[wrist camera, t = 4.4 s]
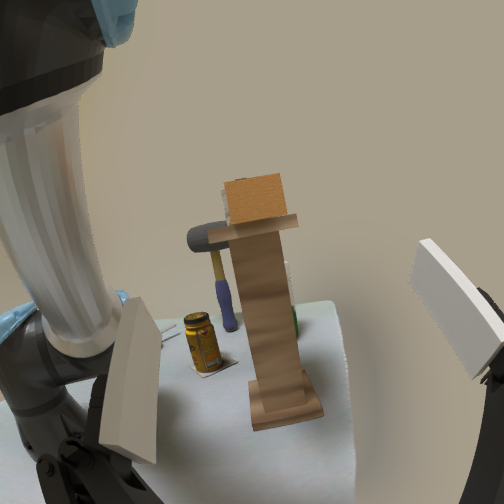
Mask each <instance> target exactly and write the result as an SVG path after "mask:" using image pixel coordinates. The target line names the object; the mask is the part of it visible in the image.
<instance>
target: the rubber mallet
mask: <svg viewBox="0 0 504 504" xmlns="http://www.w3.org/2000/svg"><path fill="white" fill-rule="evenodd" d="M226 226H227V221H219V222H213V223H207V224H204V225H200V226H197V227H194V228H191V229H190V230H189V231H188V234H187V243H188V246H189V248H190V249H191V250H192V251H193V252H195V253H196V252H210V253H211V258H212V263H213V268H214V273H215V278H216V282H215V283H216V284H215V286H216V293H217V299H218V302H219V304H220V308H221V312H222V317H223V327H224V328H225V329H226V330H227V331H228V332H230V331H234V330H236V329H237V325H238V324H237V321H236V319H235V316H234V312H233V307H232V299H231V293H230V290H229V286H228V283H227V281H226V279H225V275H224V271H223V265H222V261H221V256H220V251H219V250H222V249H225V248H229V243H228V240H226V241H221V242H216V243H211V244H209V240H208V234H207V230H211V229H216V228H221V227H226Z"/></svg>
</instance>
